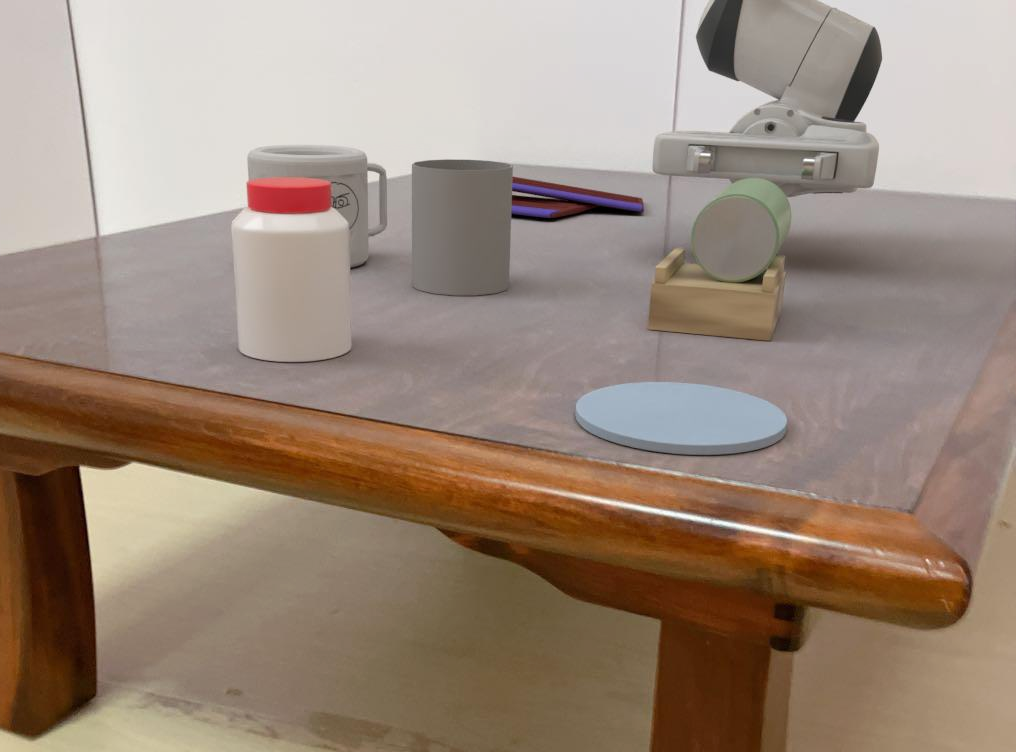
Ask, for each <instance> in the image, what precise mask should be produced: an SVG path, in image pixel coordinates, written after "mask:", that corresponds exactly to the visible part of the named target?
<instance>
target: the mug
mask: <svg viewBox="0 0 1016 752" xmlns="http://www.w3.org/2000/svg"><path fill="white" fill-rule="evenodd" d="M246 159H247V160H246V161H247V177H248V181H250V180H254V179H260V178H275V177H299V178H314V179H322V180H326V181H329V182H331V199H332V206H331V207H333V208H335V209H336V210H337V211H338V212H339V213H340V214H341V215H342V216H343V217H344V218H345V219H346V220H347V221H348V223H349V233H350V269H351V268H355V267H359V266H361V265H364V263H365V262H366V261H368V258H369V247H370V246H369V237H375V236H376V235H379V234H381V233H382V232H384V231H385V230H386V229H387V226H388V183H387V182H388V176H387V171H386V169H385V167H383V166H382V165H381V164H378V163H375V162H368V156H367V154H366V152H364V151H363V150H360V149H358V148H354V147H350V146H340V145H326V144H325V145H324V144H278V145H267V146H260V147H256V148H252V149H251V150H249V151H248V154H247V158H246ZM368 172H373V173H377V174H378V175H379V177H378V189H379V190H378V192H379V193H378V195H379V196H378V197H379V199H378V200H379V201H378V202H379V205H378V207H379V224H378V225H376V226H373V227H371V228H369V192H368V191H369V188H368V187H369V185H368V184H369V182H368V181H369V178H368Z"/></svg>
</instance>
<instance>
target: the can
mask: <svg viewBox="0 0 1016 752" xmlns="http://www.w3.org/2000/svg"><path fill="white" fill-rule="evenodd" d="M792 219H793V217H792V207H791V204H790V201H789V199H788V197H786V195H785V194H784V192H783V191H782V190H781V189H780V188H779V187H778V186H777V185H775V184H774V183H772V182H770V181H768V180H765V179H761V178H746V179H742V180H739V181H736V182H734V183H733V184H732V183H731V184H729V185H728V186H727V187H725V189H723V190H722V191H721V192H720V193H719V194H718V195H717V196H715V197H714V198H713V199H712V200H710V201H709V202H708V203H707V204H706V205H705V206H704V207H703V208H702V209H701V210H700V212H699V213H698V215H697V216H696V217H695V221H694V222H693V225H692V228H691V234H690V244H691V245H690V246H691V250H692V255H693V256H694V260H695V261H696V264H699V266H700V267H701V268H702V269H703V270H704V271H705V272H706V273H707V274H709V275H710V276H712V277H713V278H716V279H718V280H721V281H724V282H733V283H735V282H743V281H747V280H750V279H752V278H754V277H756V276H758V275H759V274H761V273H762V272H763V271H764V270H767V269H768V267H769V265H770V264H771V262H772V261H773V259H774V257H775V256H776V255H778V252H779V251H780V249H781V247H782V245H783V244H784V242H785V240H786V238H787V237H788V234H789V232H790V228H791V225H792Z"/></svg>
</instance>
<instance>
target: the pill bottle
mask: <svg viewBox="0 0 1016 752" xmlns="http://www.w3.org/2000/svg"><path fill="white" fill-rule="evenodd" d="M246 198H247V199H246V200H247V206H246V207H244V208H243V209H242V210H241V211H240V212H239V214H237V216H236V217H235V218H234V219H233V220H232V221H231V226H230V227H231V245H232V246H231V247H232V248H231V249H232V259H233V260H232V263H233V278H234V279H233V281H234V295H235V314H236V329H237V330H236V331H237V332H236V333H237V345H238V346H237V347H238V348H237V349H238V351H239V352H240V353H241V354H243V355H245V356H246V357H249V358H253V359H256V360H261V361H268V362H278V363H305V362H308V363H309V362H319V361H323V360H324V361H325V360H329V359H335V358H337V357H341V356H343V355H345V354H347V353H348V352H350V351H351V350H352V347H353V342H352V341H353V338H352V334H353V333H352V332H353V331H352V289H351V284H352V283H351V268H350V233H349V223H348V221H347V220H346V219H345V218H344V217H343V216H342V215H341V214H340V213H339V212H338V211H337V210H336V209H335V208H333V207H331V206H332V199H331V182H329V181H326V180H322V179H314V178H299V177H275V178H260V179H254V180H250V181H249V180H247V181H246Z"/></svg>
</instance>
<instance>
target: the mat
mask: <svg viewBox="0 0 1016 752" xmlns="http://www.w3.org/2000/svg"><path fill="white" fill-rule="evenodd" d="M574 416H575V420H576V422H577V423H578V425H579V426H580V427H582V429H584V430H585V431H587V432H588V433H590V434H592V435H594V436H596V437H598V438H600V439H603V440H606V441H608V442H611V443H614V444H617V445H620V446H624V447H629V448H633V449H638V450H643V451H649V452H657V453H661V454H662V453H664V454H674V455H685V456H686V455H687V456H717V455H718V456H720V455H721V456H722V455H733V454H741V453H748V452H752V451H753V452H754V451H757V450H760V449H764V448H768V447H769V446H772V445H775V444H776V443H778V442H779V441H780V440H781V439H783V438H784V437H785V435H786V433H787V429H788V418H787V415H786V414H785V412H784V411H783V410H782V409H780V407H778V406H777V405H775V404H773V403H771V402H770V401H767V400H766V399H763V398H760V397H758V396H755V395H753V394H749V393H745V392H743V391H739V390H734V389H729V388H725V387H720V386H714V385H707V384H700V383H689V382H678V381H677V382H673V381H643V382H630V383H628V382H627V383H621V384H620V383H619V384H613V385H609V386H605V387H601V388H597V389H594V390H592V391H590V392H589V391H588V392H587V393H585V394H584V395H582V396H581V397H580V398H579V399H578V400H577V402H576V404H575V411H574Z"/></svg>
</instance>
